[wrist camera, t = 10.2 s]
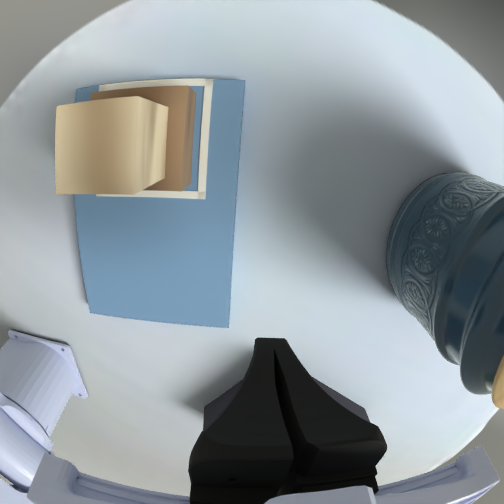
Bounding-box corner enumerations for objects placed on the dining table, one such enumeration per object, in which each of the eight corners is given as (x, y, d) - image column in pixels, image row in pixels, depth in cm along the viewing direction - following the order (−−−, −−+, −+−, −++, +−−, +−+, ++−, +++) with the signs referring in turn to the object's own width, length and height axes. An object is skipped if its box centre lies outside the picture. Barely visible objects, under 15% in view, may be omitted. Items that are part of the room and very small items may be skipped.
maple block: (101, 177, 16) (56, 194, 11) (103, 111, 14) (56, 106, 10) (165, 178, 16) (134, 194, 11) (168, 107, 14) (137, 96, 10)
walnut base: (108, 182, 19) (88, 190, 16) (111, 97, 17) (90, 92, 14) (190, 183, 19) (181, 191, 16) (196, 93, 17) (187, 85, 14)
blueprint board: (94, 307, 24) (89, 313, 22) (83, 90, 17) (75, 88, 16) (229, 320, 24) (228, 328, 23) (245, 83, 18) (244, 79, 17)
